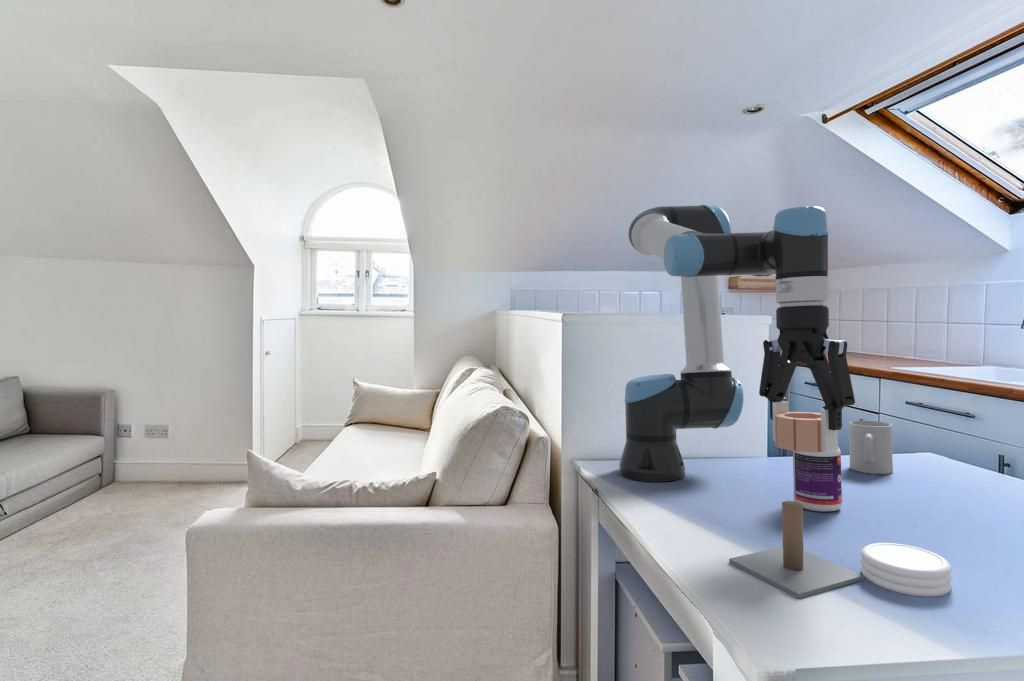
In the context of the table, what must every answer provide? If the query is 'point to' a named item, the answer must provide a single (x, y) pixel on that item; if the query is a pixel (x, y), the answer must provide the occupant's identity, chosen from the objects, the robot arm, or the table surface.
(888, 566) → the coaster
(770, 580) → the post block
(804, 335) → the robot arm
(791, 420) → the ring
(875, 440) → the mug
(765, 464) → the table surface
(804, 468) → the pill bottle
